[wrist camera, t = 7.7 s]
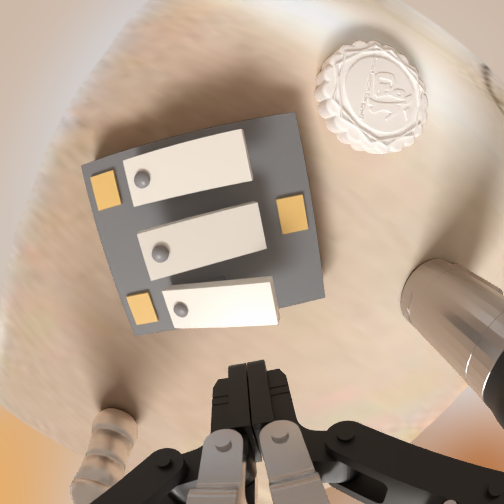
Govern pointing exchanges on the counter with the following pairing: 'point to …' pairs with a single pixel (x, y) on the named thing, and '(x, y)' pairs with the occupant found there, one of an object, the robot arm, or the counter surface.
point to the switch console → (176, 208)
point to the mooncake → (371, 97)
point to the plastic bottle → (104, 455)
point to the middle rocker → (202, 240)
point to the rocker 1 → (189, 167)
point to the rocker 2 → (223, 303)
